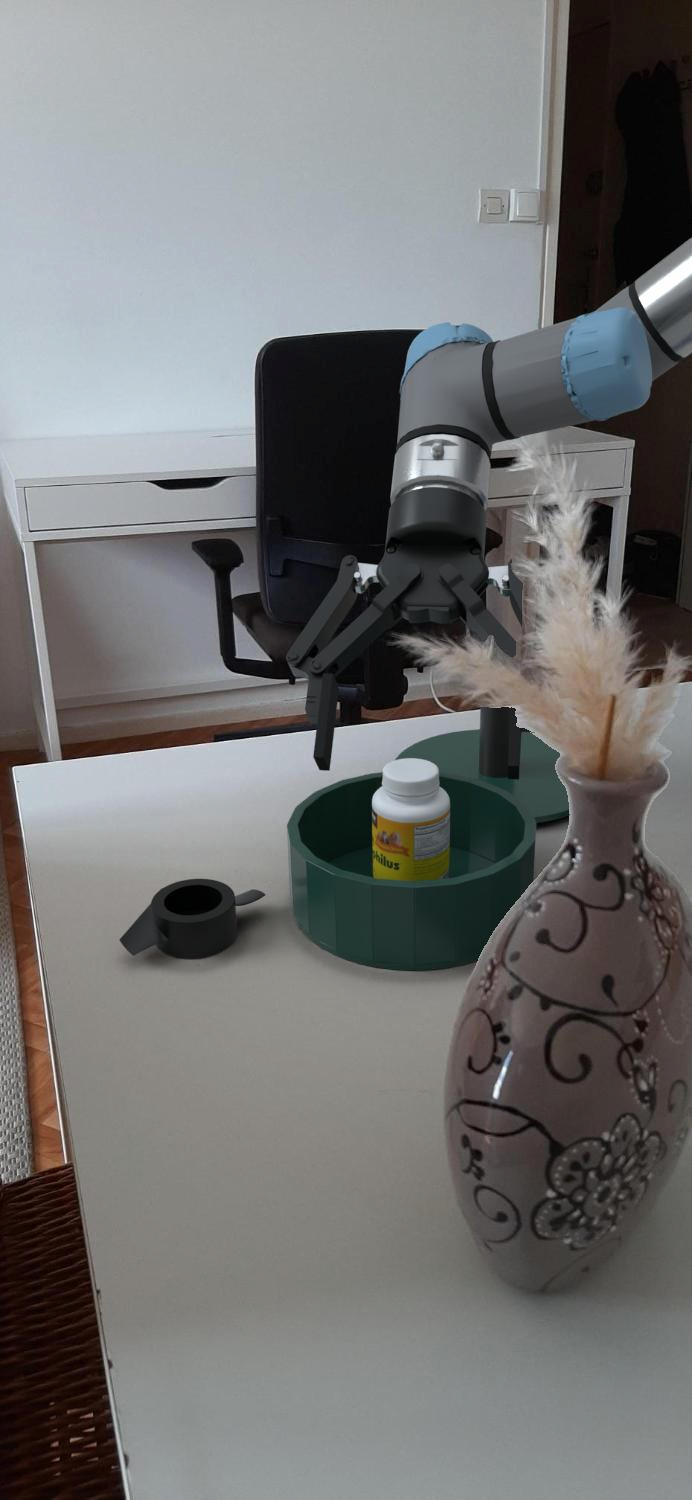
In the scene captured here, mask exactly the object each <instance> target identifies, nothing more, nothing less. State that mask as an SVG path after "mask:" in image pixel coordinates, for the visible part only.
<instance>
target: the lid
mask: <svg viewBox="0 0 692 1500" xmlns="http://www.w3.org/2000/svg"><path fill="white" fill-rule="evenodd" d="M510 717H511V708H509V707H501V708H489V707H480V709H479V729H477V728H476V729H467V730H466V729H465V730H458V731H451V732H447V733H441V734H438V735H434V736H431V737H428V738H425V739H422V740H419V741H417V742H416V743H414V744H411V745H410V746H409V747H407V748H405V749H404V750H403V751H402V752H400V753H399V754H398V755H397V756H396V757H395V759H394V761H395V760H398V759H406V758H416V759H423V760H427V761H430V762H432V763H434V764H435V765H436V766H437V767H438V769H439V772H443V773H449V774H454V775H459V776H464V777H469V778H474V779H478V780H481V781H483V782H486V783H488V784H491V785H494V786H496V787H499V788H501V789H504V790H506V791H507V792H508V793H510V794H511V795H513V796H514V797H516V798H517V799H518V800H520V801H521V802H523V803H524V804H525V805H526V806H527V808H528V809H529V811H530V813H531V814H532V816H533V817H534V819H535V821H536V824H539V823H545V822H550V821H554V820H559V819H562V818H566V817H568V816H570V815H569V802H568V795H567V791H566V788H565V786H564V785H563V784H562V782H561V781H560V779H559V778H558V775H557V773H556V770H555V764H556V761H557V759H558V758H559V757H560V753H559V752H557V751H556V750H554V749H552V748H551V747H549V746H548V745H547V744H545V743H544V742H543V741H542V740H541V739H539V738H538V737H536V736H535V735H533V734H532V733H533V732H531V733H530V732H522V733H521V752H520V771H519V780H516V779H508V753H509V735H510Z"/></svg>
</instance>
